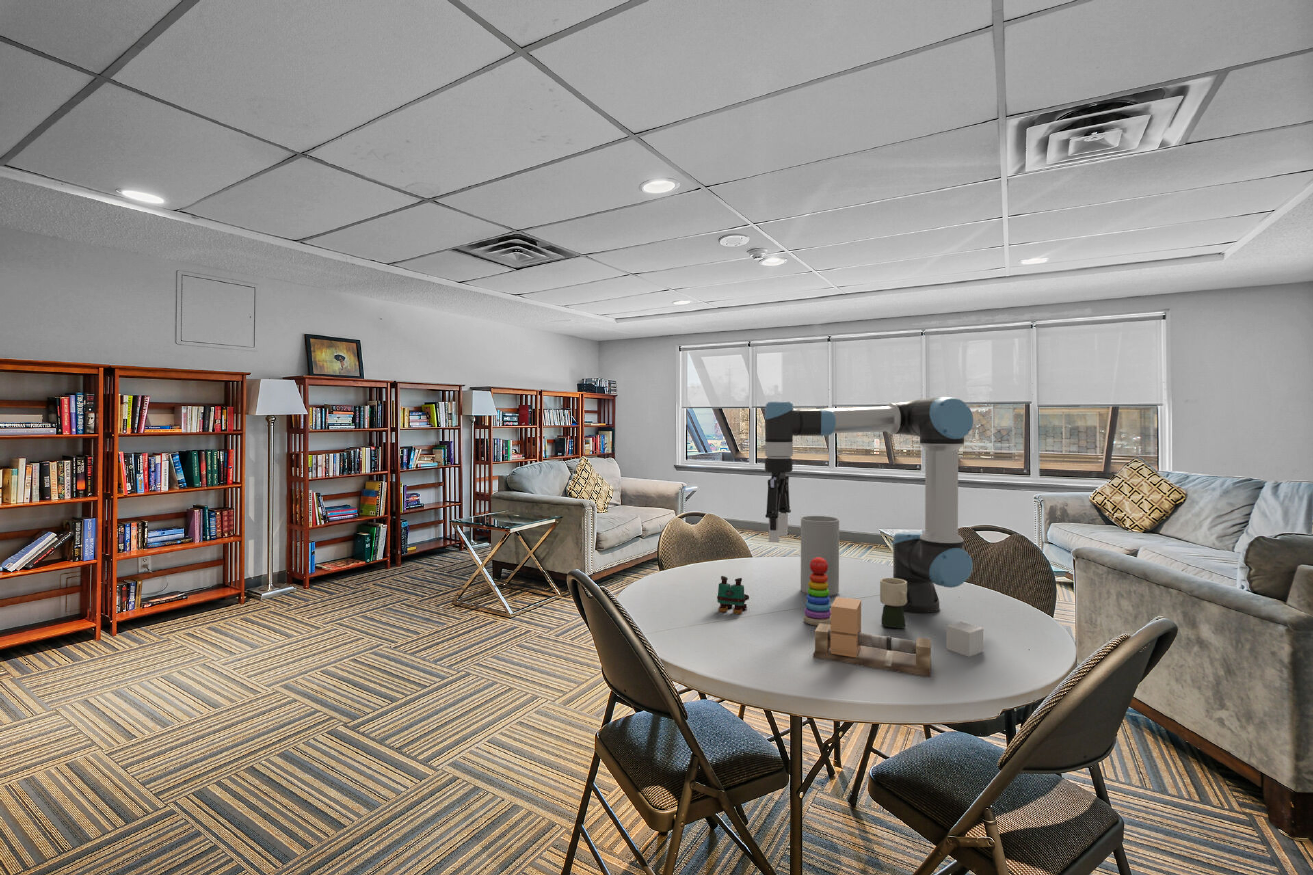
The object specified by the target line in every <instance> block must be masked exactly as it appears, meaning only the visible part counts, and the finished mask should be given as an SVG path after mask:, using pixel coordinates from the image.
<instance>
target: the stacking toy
mask: <svg viewBox="0 0 1313 875" xmlns="http://www.w3.org/2000/svg"><path fill="white" fill-rule="evenodd" d="M810 569H811V571H812V572H813V573H812V574H811V575H810V580H811V581H809V583H808V585H809V588H808V593H809V594H806V602H805V608H804V610H803V611H804V614H803V621H804V623H806V624H808V625H811V626H814V627H815V626H816V627H818V625H819V623H822V624H829V625H831V605H832V603H831V596H828V595H829V590H828V589H827V588H828V583H827V582H826V581H827V580H828V577H827V575H825V573H826V572H827V570H828V564H827V562H826V560H825V559H823V558H820V557H816V558H814V559H813V560H812V561H811V562H810Z"/></svg>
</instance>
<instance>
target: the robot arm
mask: <svg viewBox="0 0 1313 875" xmlns="http://www.w3.org/2000/svg"><path fill="white" fill-rule="evenodd" d="M973 425H974V415H973V412H972V410H971V408H970V407H969V404H967V403H965V401H963V400H962V399H960V398H957V397H950V396H949V397H948V396H942V397H941V396H940V397H932V398H920V399H913V400H909V401H902V402H892V403H891V402H890V403H888V404H886V406H871V407H870V406H869V407H868V406H866V407H840V408H839V407H838V408H794V404H793V402H792V401H768V402H767V403H766V404H765V410H764V432H765V433H764V441H765V442H764V445H763V446H762V448H763V449H764V456H765V457H767V458H765V459H764V471H765V472H767V473H771V478H769V479H767V498H766V500H767V501H766V514H765V518H767V519H768V542H770V543H777V544H778V543H780V537H788V534H789V533H788V532H789V528H788V524H789V523H788V519H789V517H788V516H789V515H788V514H789V513H791V512H792V509H790V508H791V507H790V504H791V503H790V488H789V487H790V486H789V483H790V482H789V481H790V477H789V476H788V475H787V474H786V473H791V472H792V471H793V461H794V460H793V459H792V457H793V455H794V453H793V452H794V445H793V444H794V443H793V442H794V441H793V440H794V439H793V438H794V437H795V436H796V437H798V436H799V437H804V436H805V437H806V436H807V437H813V436H815V437H818V436H819V437H824V436H831V435H832V434H845V433H847V434H849V433H852V434H853V433H873V432H875V433H876V432H879V433H881V432H887V434H889V435H905V436H912V437H913V436H914V437H919V445H920V446H921V447H922V448H923V449H924V451H925V457H924V458H925V460H924V461H925V465H924V466H925V471H924V473H925V475H924V476H925V479H924V480H925V481H924V484H925V488H924V490H925V491H924V492H925V494H924V495H925V496H924V498H925V499H924V500H925V501H924V505H925V506H924V508H925V509H924V514H925V517H924V520H925V521H924V526H925V527H924V532H919V531H916V532H915V531H914V532H911V531H909V532H905V531H904V532H897V533H895V534H894V536H893V541H892V547H893V548H892V549H893V550H892V553H893V554H892V555H893V556H892V557H893V559H892V560H893V561H892V562H893V563H892V564H893V565H892V568H893V570H892V572H893V574H892V575H893V576H892V578H897V579H902V580H905V581H907V595H906V598H907V603H906V604H905V605H903V606H902V608H903V610H904V612H909V613H910V612H911V613H920V614H921V613H922V614H925V613H926V614H927V613H928V614H929V613H933V612H938V611H939V610H940V599H939V595H938V592H937V590H936V587H935V585H937V586H941V587H944V588H950V589H951V588H957V587H959V586H962V585H963V584H964V583H965V582H966V581H967V580H968V579H969V578H970V576H971V574H972V572H973V568H974V567H973V564H974V563H973V559H972V557H971V555H969V553H968V551H966V550H965V546H964V545H965V543H964V542H965V541H964V538H963V537H962V536H961V535H960V534H959V450H960V449H962V447H963V446H964V445H965V437H966V436H967V435H969V432H971V431H972V429H973Z"/></svg>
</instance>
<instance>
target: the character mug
mask: <svg viewBox="0 0 1313 875" xmlns="http://www.w3.org/2000/svg"><path fill="white" fill-rule="evenodd" d="M879 581H880V582H879V583H880V584H879V601H880V603H882V604H883V608H882V613H881V614H882V615H881V620H880V621H881V622H880V624H881V625H882V626H884V627H888V628H895V629H898V628H906V620H905V611H904V610H903V608H902V606H903V605H905V604H906V603H907V598H906V595H907V581H905V580H902V579H897V578H893V577H883V578H880V579H879Z"/></svg>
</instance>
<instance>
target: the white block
mask: <svg viewBox="0 0 1313 875" xmlns="http://www.w3.org/2000/svg"><path fill="white" fill-rule="evenodd" d="M946 650H949V651H952V652H955V653H958V654H961V655H963V656H967V657H972V656H976V655H978V654H980V653H983V652H984V627H980V626H977V625H974V624H973V625H972V624H970V623H967V622H963V621H958V622H955V623H951V624H949V625H946Z"/></svg>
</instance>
